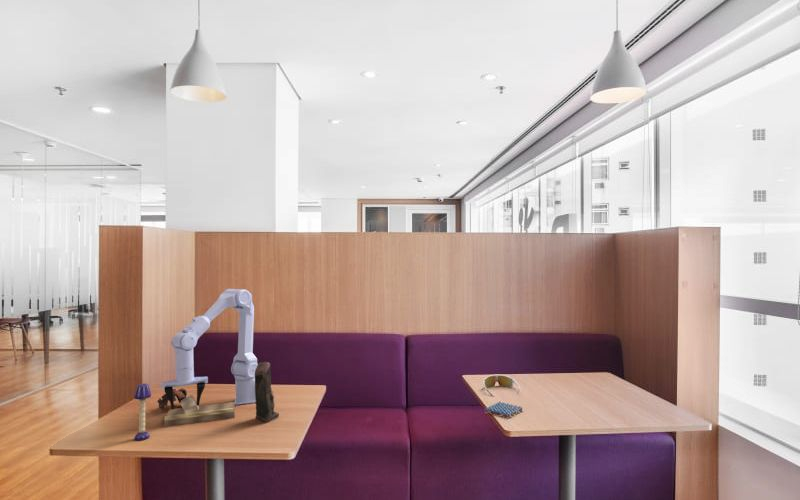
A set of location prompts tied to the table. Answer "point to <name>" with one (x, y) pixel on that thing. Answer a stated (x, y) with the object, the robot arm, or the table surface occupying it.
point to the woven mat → (503, 410)
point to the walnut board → (200, 414)
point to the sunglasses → (499, 381)
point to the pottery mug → (179, 394)
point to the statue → (264, 393)
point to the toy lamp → (142, 410)
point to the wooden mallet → (189, 405)
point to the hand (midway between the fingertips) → (185, 406)
